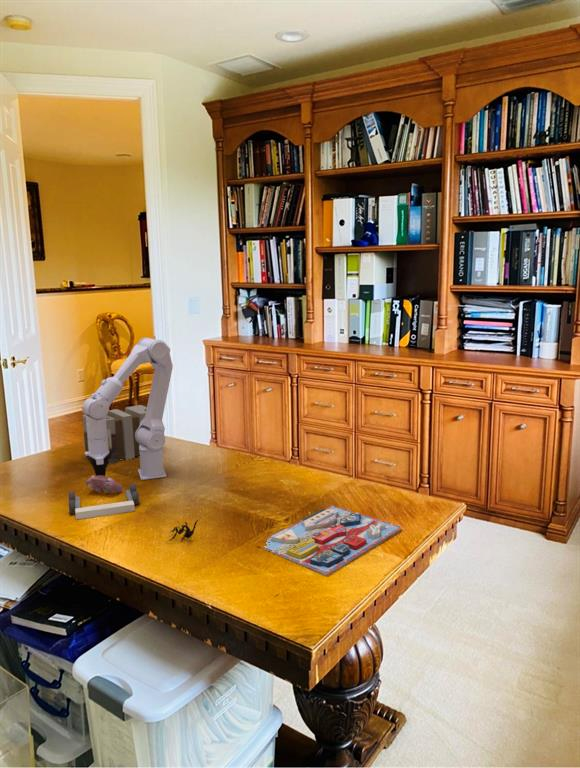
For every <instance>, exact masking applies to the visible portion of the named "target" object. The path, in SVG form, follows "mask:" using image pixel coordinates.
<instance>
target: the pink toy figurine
mask: <svg viewBox="0 0 580 768" xmlns="http://www.w3.org/2000/svg"><path fill="white" fill-rule="evenodd" d="M85 484H86V486H87V487H88V488H91V489H92V490H93V491H95V492H96V493H98V492H99V493H98V494H100V493H102V491H103V493H104V494H106V495H110V494H111V493H112V492H113V493H121V492H123V486H122V484H121V483H118V482H117V481H116V480H114V479H113V478H111V477H108V476H106V475H105V476H103V475H98V476H96V475H92V476H91V477H89V478H88V479H87V480H86V481H85Z"/></svg>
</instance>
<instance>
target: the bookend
mask: <svg viewBox="0 0 580 768" xmlns="http://www.w3.org/2000/svg"><path fill="white" fill-rule="evenodd" d="M124 410H125V411H123V410H120V409H117V408H116V409H111V410H110V409H109V411H108V414H107V415H106V426H107V438H108V449H109V454H108V455H109V462H108V465H110V464H109V463H113V462H117V463H119V461H118V460H120V459H124V458H125V459H130V460H132V459H131V458H134V459H135V458H136V457H135V456H137V457H140V456H139V455H140V453H139V443H138V442H137V441H136V439H135V433H136V431H137V429H138V428H139V426H140V422H141V421H142V420H143V419H144V418H145V415H146V410H147V406H145V405H142V404H138V405H133V406H127V407H125V408H124ZM82 428H83V439H84V450H85V452H88V451H89V449H88V437H87V426H86V415H85V414H82ZM85 452H84V453H85ZM85 458H86V459H87V458H88V459H87V460H89V458H90V456H89V455H88V456H85ZM125 459H124V460H125ZM120 461H121V460H120ZM113 464H114V463H113Z"/></svg>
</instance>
